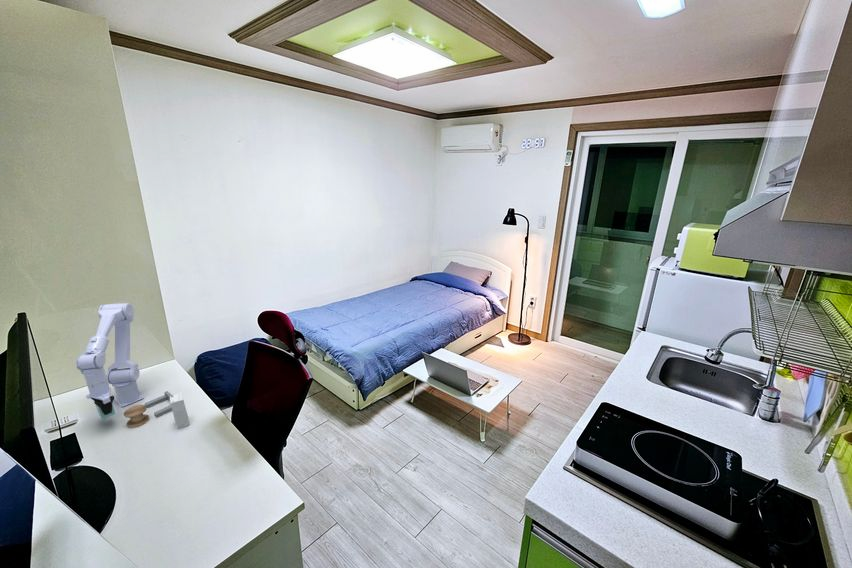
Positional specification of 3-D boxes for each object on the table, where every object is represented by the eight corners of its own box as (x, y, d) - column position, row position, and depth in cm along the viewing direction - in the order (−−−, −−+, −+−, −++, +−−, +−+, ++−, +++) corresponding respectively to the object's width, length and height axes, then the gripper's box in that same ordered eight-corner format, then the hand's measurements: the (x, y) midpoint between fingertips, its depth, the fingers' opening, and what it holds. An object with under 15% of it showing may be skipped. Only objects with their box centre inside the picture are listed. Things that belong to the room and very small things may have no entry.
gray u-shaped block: (145, 406, 149) (143, 400, 148) (168, 396, 155) (167, 390, 155) (156, 417, 142) (155, 411, 141) (180, 406, 149) (179, 401, 148)
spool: (124, 422, 139) (121, 411, 137) (145, 413, 144) (142, 402, 142) (130, 430, 135) (127, 418, 133) (152, 420, 140) (149, 408, 139)
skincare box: (189, 424, 139) (184, 399, 135) (176, 429, 136) (170, 403, 132) (188, 416, 143) (182, 392, 139) (174, 421, 140) (169, 396, 137)
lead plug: (99, 415, 137) (94, 401, 135) (111, 410, 140) (107, 396, 138) (102, 419, 134) (97, 405, 132) (115, 413, 138) (111, 400, 136)
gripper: (77, 380, 133) (87, 409, 137) (88, 393, 125) (98, 424, 130) (101, 372, 139) (110, 400, 143) (113, 384, 131) (122, 414, 135)
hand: (106, 411), depth 137 cm, fingers closed on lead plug, 4 cm apart
